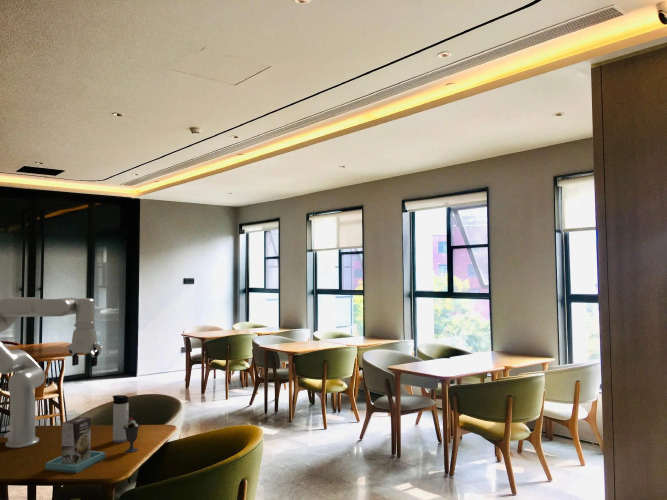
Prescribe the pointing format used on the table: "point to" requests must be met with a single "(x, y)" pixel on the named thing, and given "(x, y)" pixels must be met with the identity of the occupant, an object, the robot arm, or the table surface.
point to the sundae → (131, 433)
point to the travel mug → (120, 418)
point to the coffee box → (76, 440)
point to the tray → (57, 465)
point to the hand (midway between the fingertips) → (84, 365)
